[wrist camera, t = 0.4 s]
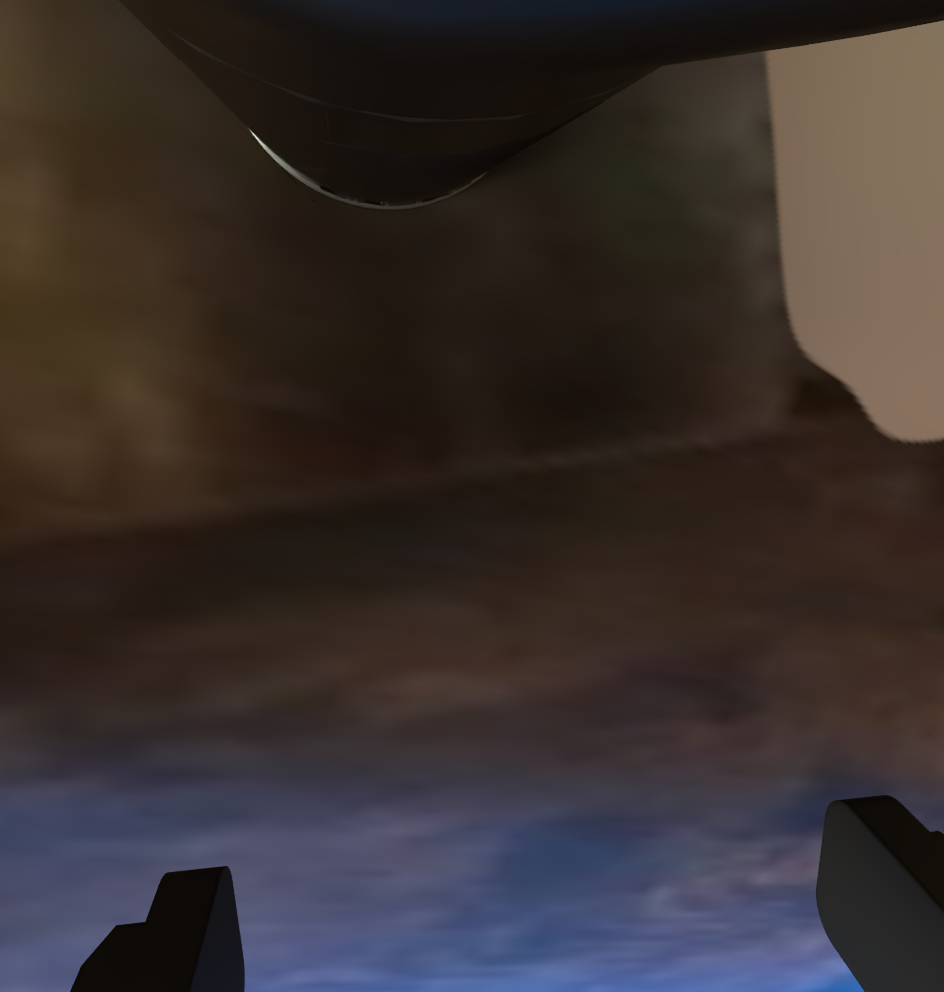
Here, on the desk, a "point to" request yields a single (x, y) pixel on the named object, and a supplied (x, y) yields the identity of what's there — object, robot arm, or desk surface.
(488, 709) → the desk surface
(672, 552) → the desk surface
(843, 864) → the robot arm
